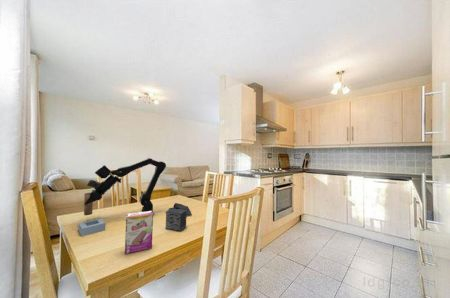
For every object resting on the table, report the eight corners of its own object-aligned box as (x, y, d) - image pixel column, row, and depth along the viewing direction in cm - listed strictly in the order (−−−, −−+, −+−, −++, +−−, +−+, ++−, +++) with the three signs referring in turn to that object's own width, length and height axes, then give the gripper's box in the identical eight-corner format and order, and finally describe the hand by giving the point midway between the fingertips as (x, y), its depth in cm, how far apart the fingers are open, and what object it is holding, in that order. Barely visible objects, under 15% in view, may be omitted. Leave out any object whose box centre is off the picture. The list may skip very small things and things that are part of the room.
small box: (186, 227, 103) (187, 209, 104) (180, 232, 97) (181, 213, 97) (171, 224, 107) (172, 207, 107) (165, 229, 101) (165, 211, 101)
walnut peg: (94, 213, 107) (94, 192, 107) (88, 215, 103) (88, 194, 103) (88, 212, 107) (88, 192, 107) (82, 215, 103) (82, 194, 103)
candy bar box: (124, 255, 75) (125, 217, 75) (125, 249, 79) (126, 213, 80) (152, 248, 80) (153, 213, 81) (151, 243, 85) (152, 210, 85)
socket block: (100, 224, 105) (100, 218, 105) (105, 230, 98) (105, 222, 98) (78, 230, 98) (78, 223, 98) (81, 236, 91) (82, 228, 91)
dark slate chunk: (170, 219, 116) (170, 212, 116) (168, 209, 137) (168, 203, 137) (193, 216, 122) (193, 209, 122) (188, 207, 143) (188, 201, 143)
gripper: (99, 173, 115) (77, 191, 109) (95, 177, 99) (69, 198, 93) (113, 184, 119) (92, 202, 113) (111, 189, 103) (87, 211, 97)
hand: (85, 203), depth 104 cm, fingers closed on walnut peg, 4 cm apart
